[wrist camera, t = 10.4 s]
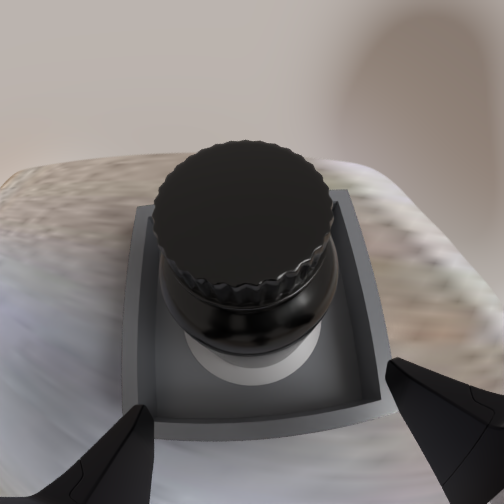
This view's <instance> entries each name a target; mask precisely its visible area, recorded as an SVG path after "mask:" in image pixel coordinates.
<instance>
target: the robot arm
mask: <svg viewBox="0 0 504 504" xmlns="http://www.w3.org/2000/svg"><path fill="white" fill-rule="evenodd" d="M385 380H386V383H387V385H388V387H389V390H390V392H391V394H392V396H393V399H394V401H395V403H396V406H397V408H398V410H399V412H400V414H401V415H402V417H403V419H404V421H405V422H406V424H407V426H408V427H409V429H410V431H411V433H412V434H413V436H414V438H415V439H416V441H417V443H418V445H419V446H420V448H421V450H422V452H423V454H424V455H425V457H426V459H427V461H428V463H429V464H430V466H431V468H432V470H433V472H434V474H435V475H436V477H437V479H438V481H439V483H440V485H441V486H442V489H443V491H444V493H445V495H446V496H447V498H448V500H449V502H450V504H487V503H488V502H490V503H491V504H504V395H500V394H496V393H492V392H489V391H485V390H482V389H479V388H476V387H474V386H471V385H470V386H469V385H468V384H465V383H463V382H460V381H457V380H455V379H452V378H449V377H447V376H444V375H441V374H439V373H436V372H434V371H431V370H429V369H426V368H424V367H421V366H419V365H416V364H414V363H411V362H409V361H406V360H404V359H401V358H398V357H396V358H393V359H391V360H389V361H388V362H387V367H386V373H385ZM153 463H154V419H153V417H152V415H151V413H150V412H149V410H148V408H147V406H146V405H144V404H136V405H134V406H133V407H132V408H131V409H130V410H129V411H128V412H127V413H126V414H125V415H124V416H123V417H122V418H121V419H120V420H119V421H118V422H117V423H116V424H115V425H114V426H113V427H112V428H111V429H110V430H109V431H108V432H107V433H106V434H105V435H104V436H103V437H102V438H101V439H100V440H99V441H98V442H97V443H96V444H94V445H93V446H92V447H91V448H90V449H89V450H88V451H87V452H86V453H85V454H84V455H83V456H82V457H81V458H80V459H79V460H78V461H77V462H76V463H75V464H74V465H73V466H72V467H71V468H69V469H68V470H67V471H66V472H65V473H64V474H62V475H61V476H60V477H59V478H57V479H56V480H55V481H53V482H52V483H51V484H49V485H48V486H47V487H45V488H44V489H42V490H41V491H40V492H38V493H36V494H34V495H32V496H28V497H0V504H149V501H150V490H151V480H152V471H153Z"/></svg>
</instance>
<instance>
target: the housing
mask: <svg viewBox="0 0 504 504" xmlns="http://www.w3.org/2000/svg"><path fill="white" fill-rule="evenodd" d="M329 196H330V197H331V199H332V201H333V207H332V212H333V216H334V221H333V224H332V226H331V229H330V232H331V234H330V235H331V237H332V239H333V242H334V244H335V248H336V251H337V256H338V265H339V274H338V283H337V288H336V292H335V295H334V298H333V300H332V303H331V305H330V307H329V309H328V310H327V312H326V314H325V315H324V317H323V318H322V320H321V321H320V322H319V324H318V325H317V326H316V327H315V329H313V331H312V332H311V333H310V334H309V335H308V337H307V338H306V339H305V340H304V341H303V342H302V343H301V344H300V345H299V347H298V348H297V349H296V350H295V351H294V352H293V353H292V354H291V355H289V356H288V357H287V358H285V359H284V360H282V361H280V362H279V363H276V364H274V365H271V366H268V367H264V368H243V367H238V366H235V365H232V364H230V363H228V362H226V361H224V360H222V359H221V358H219V357H218V356H216V355H215V354H214V353H212V352H211V351H209V350H208V349H207V348H205V347H204V346H202V345H201V344H200V343H198V342H197V341H196V340H194V339H193V338H192V337H191V336H189V335H188V334H187V333H186V332H185V331H184V330H183V329H182V328H181V327H180V326H179V324H178V323H177V322H176V321H175V319H174V318H173V317H172V315H171V314H170V312H169V310H168V308H167V306H166V304H165V302H164V299H163V296H162V293H161V288H160V283H159V261H160V255H161V251H160V249H159V247H158V242H157V238H156V236H155V235H154V232H153V226H154V221H153V218H152V213H153V211H154V209H155V205H154V204H153V205H146V206H139V207H137V210H136V216H135V221H134V227H133V233H132V240H131V247H130V254H129V261H128V269H127V278H126V288H125V299H124V312H123V329H122V362H121V378H122V411H123V416H124V415H125V414H126V413H127V412H128V411H129V410H130V409H131V408H132V407H133V406H134V405H136V404H144V405H146V406H147V408H148V410H149V412H150V413H151V415H152V417H153V419H154V439H164V440H179V441H243V440H259V439H270V438H280V437H288V436H296V435H302V434H309V433H315V432H320V431H326V430H331V429H336V428H341V427H345V426H349V425H354V424H358V423H362V422H366V421H369V420H373V419H377V418H380V417H384V416H387V415H390V414H393V413H396V412H399V410H398V408H397V406H396V403H395V401H394V399H393V396H392V394H391V392H390V390H389V387H388V385H387V383H386V380H385V373H386V367H387V362H388V361H389V360H391V359H392V357H391V351H390V345H389V340H388V335H387V329H386V324H385V320H384V315H383V310H382V306H381V302H380V297H379V293H378V289H377V285H376V281H375V277H374V273H373V269H372V266H371V262H370V259H369V255H368V251H367V248H366V245H365V241H364V238H363V235H362V231H361V228H360V225H359V222H358V219H357V216H356V213H355V210H354V207H353V204H352V201H351V198H350V195H349V193H348V190H347V189H346V190H329Z"/></svg>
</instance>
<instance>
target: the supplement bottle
mask: <svg viewBox="0 0 504 504" xmlns="http://www.w3.org/2000/svg"><path fill="white" fill-rule="evenodd" d="M154 205H155V209H154V211H153V213H152V218H153V221H154V226H153V232H154V235H155V236H156V238H157V242H158V247H159V249H160V251H161V255H160V261H159V283H160V288H161V293H162V296H163V299H164V302H165V304H166V306H167V308H168V310H169V312H170V314H171V315H172V317H173V318H174V319H175V321H176V322H177V323H178V324H179V326H180V327H181V328H182V329H183V330H184V331H185V332H186V333H187V334H188V335H189V336H191V337H192V338H193V339H194V340H196V341H197V342H198V343H200V344H201V345H202V346H204V347H205V348H207V349H208V350H209V351H211V352H212V353H214V354H215V355H216V356H218V357H219V358H221V359H222V360H224V361H226V362H228V363H230V364H232V365H235V366H238V367H243V368H264V367H268V366H271V365H274V364H276V363H279V362H280V361H282V360H284V359H285V358H287V357H288V356H289V355H291V354H292V353H293V352H294V351H295V350H296V349H297V348H298V347H299V345H300V344H301V343H302V342H303V341H304V340H305V339H306V338H307V337H308V335H309V334H310V333H311V332H312V331H313V329H315V327H316V326H317V325H318V324H319V322H320V321H321V320H322V318H323V317H324V315H325V314H326V312H327V310H328V309H329V307H330V305H331V303H332V300H333V298H334V295H335V292H336V288H337V283H338V274H339V265H338V256H337V251H336V248H335V244H334V242H333V239H332V237H331V235H330V234H331V232H330V229H331V226H332V224H333V221H334V216H333V212H332V207H333V201H332V199H331V197H330V196H329V187H328V186H327V185H326V184H325V183H324V182H323V177H322V175H321V174H320V173H319V172H317V171H316V170H315V168H314V166H313V164H311V163H309V162H307V161H306V160H305V159H304V158H303V157H302V156H301V155H299V154H296V153H294V152H292V151H291V150H290V149H288V148H283V147H280V146H278V145H276V144H271V143H265V142H262V141H249V140H242V141H229V142H226V143H224V144H215V145H213V146H212V147H210V148H206V149H202V150H200V151H199V152H198V153H197V154H194V155H191V156H189V157H188V158H187V159H186V160H185V161H184V162H182V163H180V164H179V165H177V166H176V168H175V169H174V171H173V172H172V173H170V174H169V175H167V177H166V179H165V182H164V183H163V184H162V185H161V186H160V187H159V194H158V196H157V197H156V199H155V200H154Z"/></svg>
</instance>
